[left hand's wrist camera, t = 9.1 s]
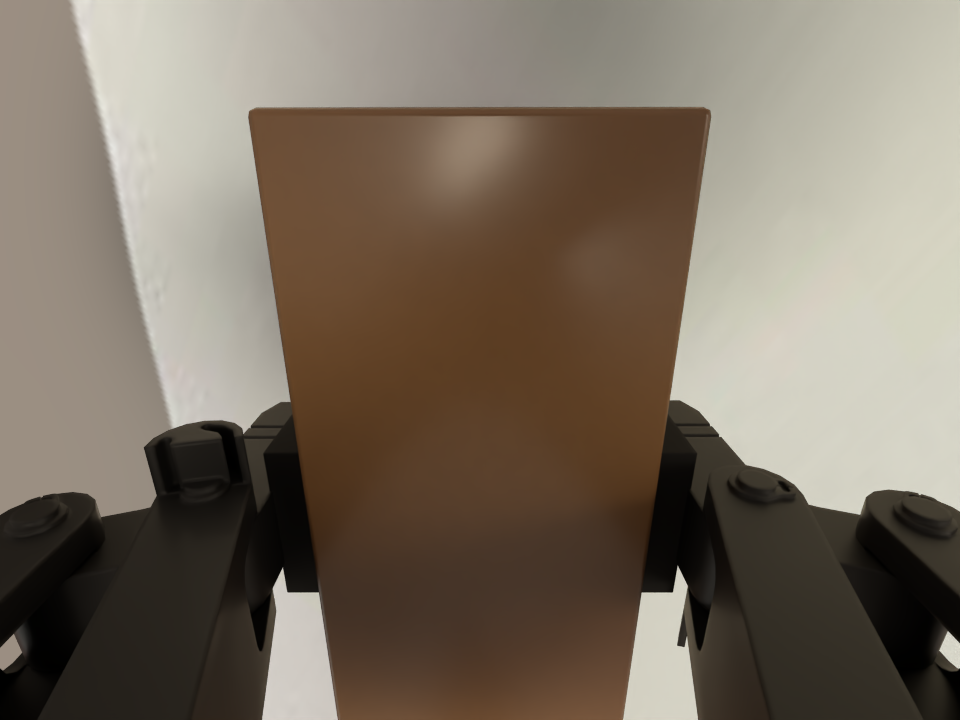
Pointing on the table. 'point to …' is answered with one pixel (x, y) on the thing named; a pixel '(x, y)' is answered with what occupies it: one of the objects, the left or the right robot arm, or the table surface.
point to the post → (480, 389)
